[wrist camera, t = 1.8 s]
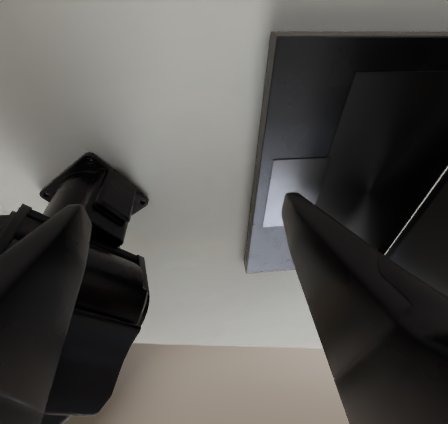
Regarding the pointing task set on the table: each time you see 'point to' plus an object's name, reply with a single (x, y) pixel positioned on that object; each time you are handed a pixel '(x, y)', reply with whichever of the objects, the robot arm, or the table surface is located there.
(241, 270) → the table surface
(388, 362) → the robot arm
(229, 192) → the table surface
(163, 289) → the table surface
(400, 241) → the laptop screen
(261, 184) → the laptop
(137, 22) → the table surface
